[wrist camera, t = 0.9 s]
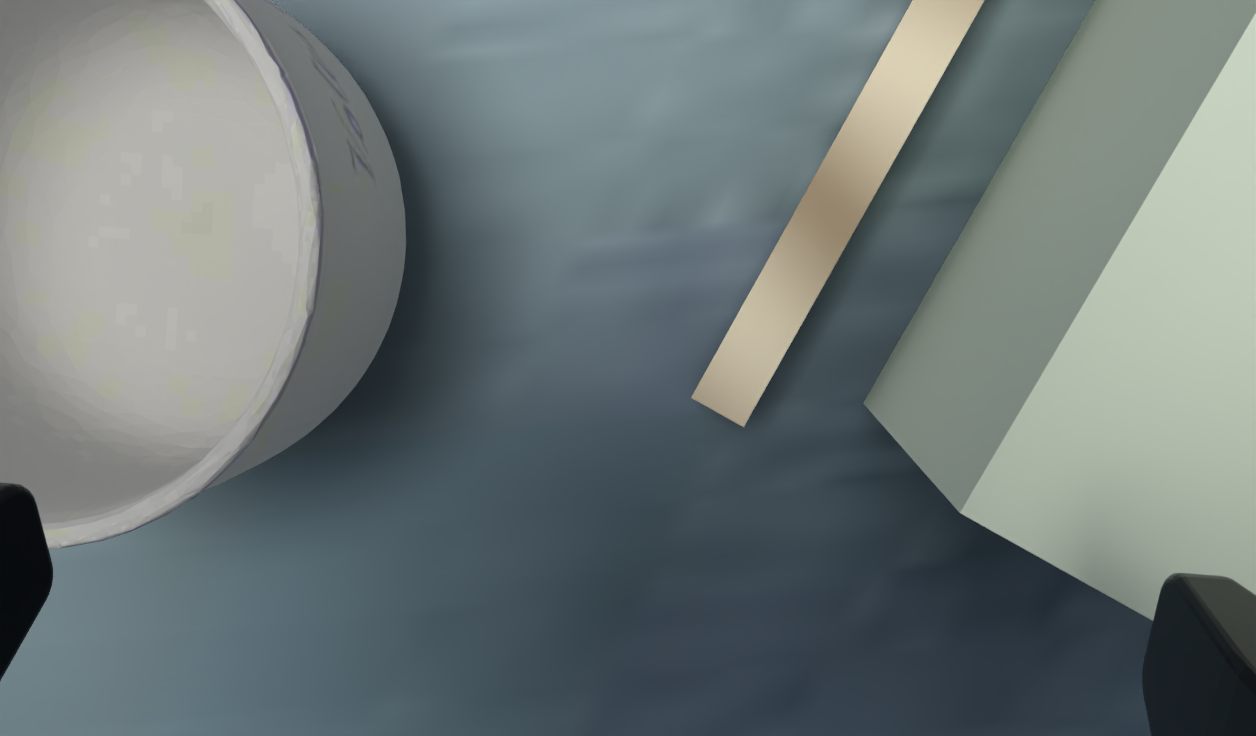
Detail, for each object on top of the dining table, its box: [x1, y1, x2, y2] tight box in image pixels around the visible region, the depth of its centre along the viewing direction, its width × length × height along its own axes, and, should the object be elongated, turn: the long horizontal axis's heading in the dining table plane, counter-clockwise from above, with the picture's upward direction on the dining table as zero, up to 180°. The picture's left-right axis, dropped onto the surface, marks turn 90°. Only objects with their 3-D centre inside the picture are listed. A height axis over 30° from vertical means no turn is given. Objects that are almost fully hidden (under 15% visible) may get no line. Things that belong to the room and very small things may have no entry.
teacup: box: [0, 0, 406, 549], centre depth 23 cm, size 14×11×8 cm
